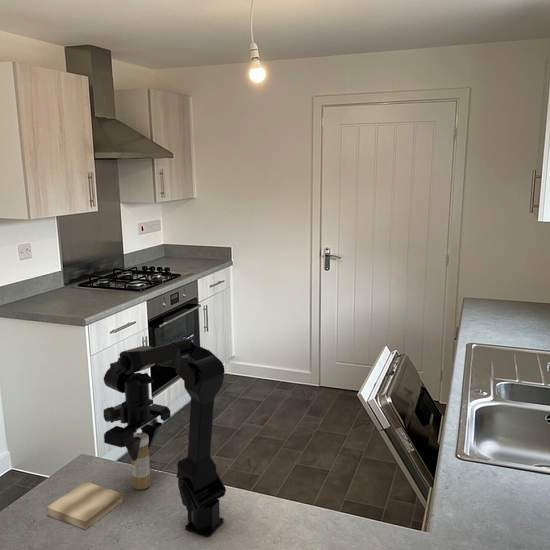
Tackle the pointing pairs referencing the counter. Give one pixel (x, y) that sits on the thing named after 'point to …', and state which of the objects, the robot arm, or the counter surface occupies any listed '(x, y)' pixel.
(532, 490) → the counter surface
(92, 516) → the tan block
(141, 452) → the sprinkles bottle
